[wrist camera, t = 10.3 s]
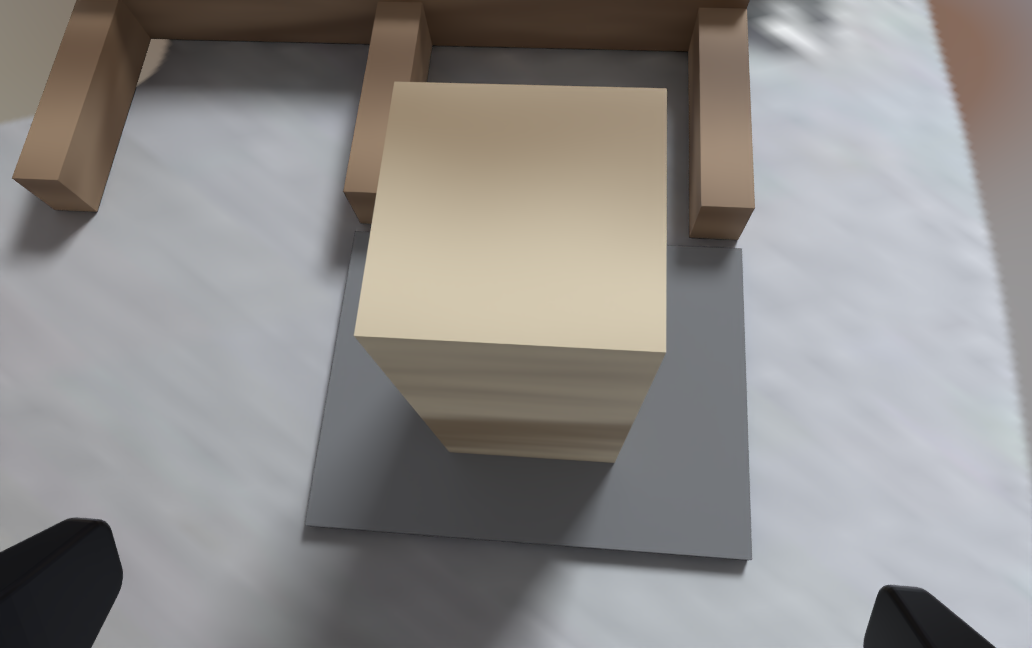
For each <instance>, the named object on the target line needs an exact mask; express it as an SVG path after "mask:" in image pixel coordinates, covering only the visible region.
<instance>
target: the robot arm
mask: <svg viewBox="0 0 1032 648" xmlns="http://www.w3.org/2000/svg"><path fill="white" fill-rule="evenodd" d="M122 580H123V570H122V565H121V562H120V558H119V555H118V551H117V548H116V544H115V541H114V537H113V534H112V530H111V528H110V526H109V525H108V524H107V523H106V522H105V521H103V520H100V519H90V518H69V519H66V520H64V521H62V522H60V523H58V524H56V525H54V526H52V527H50V528H48V529H46V530H44V531H42V532H40V533H38V534H36V535H34V536H32V537H30V538H28V539H26V540H24V541H22V542H20V543H18V544H16V545H14V546H12V547H10V548H8V549H6V550H4V551H2V552H0V648H91V647H92V645H93V643H94V641H95V639H96V637H97V635H98V633H99V631H100V629H101V627H102V625H103V623H104V622H105V620H106V618H107V616H108V614H109V612H110V610H111V608H112V606H113V604H114V602H115V600H116V598H117V596H118V594H119V591H120V589H121V585H122ZM863 648H996V647H995V646H993V645H992V644H991V643H990V642H989V641H987V640H986V639H985V638H984V637H982V636H981V635H980V634H979V633H978V632H976V631H975V630H974V629H973V628H972V627H970V626H969V625H968V624H967V623H965V622H964V621H963V620H962V619H961V618H959V617H958V616H957V615H956V614H955V613H953V612H952V611H951V610H950V609H948V608H947V607H946V606H945V605H944V604H942V603H941V602H940V601H939V600H938V599H936V598H935V597H934V596H933V595H931V594H930V593H929V592H927V591H926V590H924V589H922V588H918V587H911V586H899V585H886V586H883V587H882V588H881V589H880V590H879V592H878V594H877V597H876V601H875V604H874V607H873V610H872V613H871V617H870V620H869V623H868V626H867V629H866V633H865V637H864V644H863Z"/></svg>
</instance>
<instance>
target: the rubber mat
mask: <svg viewBox="0 0 1032 648" xmlns="http://www.w3.org/2000/svg"><path fill="white" fill-rule="evenodd" d="M369 238H370V232H360V231H355V235H354V241H353V247H352V253H351V259H350V264H349V270H348V276H347V282H346V288H345V294H344V299H343V305H342V311H341V317H340V323H339V329H338V334H337V340H336V346H335V352H334V358H333V364H332V369H331V375H330V381H329V387H328V393H327V399H326V404H325V410H324V416H323V422H322V428H321V434H320V439H319V445H318V451H317V457H316V463H315V469H314V474H313V480H312V486H311V492H310V498H309V504H308V509H307V515H306V521H305V525H307V526H315V527H327V528H340V529H353V530H366V531H379V532H391V533H404V534H417V535H430V536H443V537H456V538H468V539H481V540H494V541H507V542H520V543H532V544H545V545H558V546H571V547H584V548H597V549H609V550H622V551H635V552H648V553H661V554H674V555H686V556H699V557H712V558H725V559H738V560H752V541H751V511H750V480H749V450H748V420H747V389H746V359H745V329H744V299H743V268H742V249H741V248H719V247H696V246H674V245H667V252H666V354H665V356H664V358H663V360H662V363H661V365H660V367H659V369H658V371H657V373H656V375H655V377H654V380H653V382H652V384H651V386H650V388H649V390H648V392H647V395H646V397H645V399H644V401H643V403H642V405H641V407H640V410H639V412H638V414H637V416H636V418H635V420H634V422H633V424H632V427H631V429H630V431H629V433H628V435H627V437H626V439H625V442H624V444H623V446H622V448H621V450H620V452H619V454H618V457H617V459H616V461H615V463H608V462H592V461H577V460H562V459H546V458H531V457H516V456H500V455H485V454H469V453H454V452H449V451H448V450H447V449H446V447H445V446H444V445H443V444H442V442H441V441H440V440H439V439H438V438H437V436H436V435H435V434H434V433H433V432H432V430H431V429H430V428H429V427H428V425H427V424H426V423H425V422H424V421H423V419H422V418H421V417H420V416H419V414H418V413H417V412H416V411H415V410H414V408H413V407H412V406H411V405H410V404H409V402H408V401H407V400H406V399H405V397H404V396H403V395H402V394H401V393H400V391H399V390H398V389H397V388H396V387H395V385H394V384H393V383H392V382H391V380H390V379H389V378H388V377H387V376H386V374H385V373H384V372H383V371H382V369H381V368H380V367H379V366H378V365H377V363H376V362H375V361H374V360H373V359H372V357H371V356H370V355H369V354H368V352H367V351H366V350H365V349H364V348H363V346H362V345H361V344H360V343H359V342H358V340H357V339H356V338H355V337H354V332H355V325H356V319H357V313H358V307H359V300H360V294H361V288H362V282H363V275H364V269H365V263H366V256H367V250H368V244H369Z"/></svg>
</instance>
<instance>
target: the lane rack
mask: <svg viewBox="0 0 1032 648" xmlns="http://www.w3.org/2000/svg"><path fill="white" fill-rule="evenodd" d="M748 3H749V0H77V1H76V3H75V6H74V9H73V11H72V14H71V17H70V20H69V22H68V25H67V28H66V31H65V33H64V36H63V39H62V42H61V44H60V47H59V50H58V53H57V56H56V58H55V61H54V64H53V66H52V69H51V72H50V75H49V78H48V80H47V83H46V86H45V89H44V91H43V94H42V97H41V99H40V102H39V105H38V108H37V111H36V113H35V116H34V119H33V122H32V124H31V127H30V130H29V133H28V135H27V138H26V141H25V144H24V146H23V149H22V152H21V155H20V157H19V160H18V163H17V166H16V168H15V171H14V174H13V177H12V179H14V180H15V181H16V182H18V183H19V184H20V185H22V186H23V187H25V188H26V189H27V190H29V191H30V192H31V193H33V194H34V195H35V196H37V197H38V198H39V199H41V200H42V201H43V202H45V203H46V204H47V205H49V206H50V207H51V208H53V209H54V210H67V211H90V212H97V211H98V207H99V204H100V201H101V198H102V195H103V191H104V188H105V185H106V182H107V179H108V175H109V172H110V169H111V166H112V162H113V159H114V156H115V153H116V150H117V146H118V143H119V140H120V137H121V134H122V130H123V127H124V124H125V121H126V117H127V114H128V111H129V108H130V105H131V101H132V98H133V95H134V92H135V89H136V85H137V82H138V79H139V75H140V72H141V69H142V66H143V62H144V60H145V56H146V53H147V50H148V47H149V44H150V40H151V39H184V40H227V41H269V42H311V43H354V44H370V47H369V53H368V58H367V64H366V69H365V75H364V80H363V86H362V91H361V97H360V102H359V108H358V113H357V119H356V124H355V130H354V135H353V141H352V146H351V152H350V158H349V163H348V169H347V174H346V180H345V185H344V191H343V192H344V194H345V195H346V197H347V199H348V201H349V203H350V205H351V206H352V208H353V210H354V212H355V214H356V216H357V217H358V219H359V221H360V223H365V224H372V219H373V213H374V206H375V200H376V194H377V187H378V181H379V175H380V169H381V162H382V156H383V150H384V144H385V137H386V131H387V125H388V118H389V112H390V106H391V100H392V93H393V87H394V82H427V79H428V72H429V65H430V58H431V51H432V45H439V46H481V47H524V48H566V49H608V50H651V51H688V94H689V238H708V239H731V240H738V239H739V237H740V235H741V233H742V232H743V230H744V228H745V226H746V224H747V222H748V220H749V218H750V216H751V214H752V212H753V211H754V209H755V199H754V175H753V150H752V126H751V101H750V76H749V52H748V27H747V6H748Z"/></svg>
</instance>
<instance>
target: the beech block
mask: <svg viewBox="0 0 1032 648" xmlns="http://www.w3.org/2000/svg"><path fill="white" fill-rule="evenodd" d="M666 252H667V88H631V87H591V86H551V85H510V84H470V83H430V82H394V87H393V93H392V100H391V106H390V112H389V118H388V125H387V131H386V137H385V144H384V150H383V156H382V162H381V169H380V175H379V181H378V187H377V194H376V200H375V206H374V213H373V219H372V225H371V231H370V238H369V244H368V250H367V256H366V263H365V269H364V275H363V282H362V288H361V294H360V300H359V307H358V313H357V319H356V325H355V332H354V337H355V338H356V339H357V340H358V342H359V343H360V344H361V345H362V346H363V348H364V349H365V350H366V351H367V352H368V354H369V355H370V356H371V357H372V359H373V360H374V361H375V362H376V363H377V365H378V366H379V367H380V368H381V369H382V371H383V372H384V373H385V374H386V376H387V377H388V378H389V379H390V380H391V382H392V383H393V384H394V385H395V387H396V388H397V389H398V390H399V391H400V393H401V394H402V395H403V396H404V397H405V399H406V400H407V401H408V402H409V404H410V405H411V406H412V407H413V408H414V410H415V411H416V412H417V413H418V414H419V416H420V417H421V418H422V419H423V421H424V422H425V423H426V424H427V425H428V427H429V428H430V429H431V430H432V432H433V433H434V434H435V435H436V436H437V438H438V439H439V440H440V441H441V442H442V444H443V445H444V446H445V447H446V449H447V450H448V451H449V452H454V453H469V454H485V455H500V456H516V457H531V458H546V459H562V460H577V461H592V462H608V463H615V461H616V459H617V457H618V454H619V452H620V450H621V448H622V446H623V444H624V442H625V439H626V437H627V435H628V433H629V431H630V429H631V427H632V424H633V422H634V420H635V418H636V416H637V414H638V412H639V410H640V407H641V405H642V403H643V401H644V399H645V397H646V395H647V392H648V390H649V388H650V386H651V384H652V382H653V380H654V377H655V375H656V373H657V371H658V369H659V367H660V365H661V363H662V360H663V358H664V356H665V354H666Z"/></svg>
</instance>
